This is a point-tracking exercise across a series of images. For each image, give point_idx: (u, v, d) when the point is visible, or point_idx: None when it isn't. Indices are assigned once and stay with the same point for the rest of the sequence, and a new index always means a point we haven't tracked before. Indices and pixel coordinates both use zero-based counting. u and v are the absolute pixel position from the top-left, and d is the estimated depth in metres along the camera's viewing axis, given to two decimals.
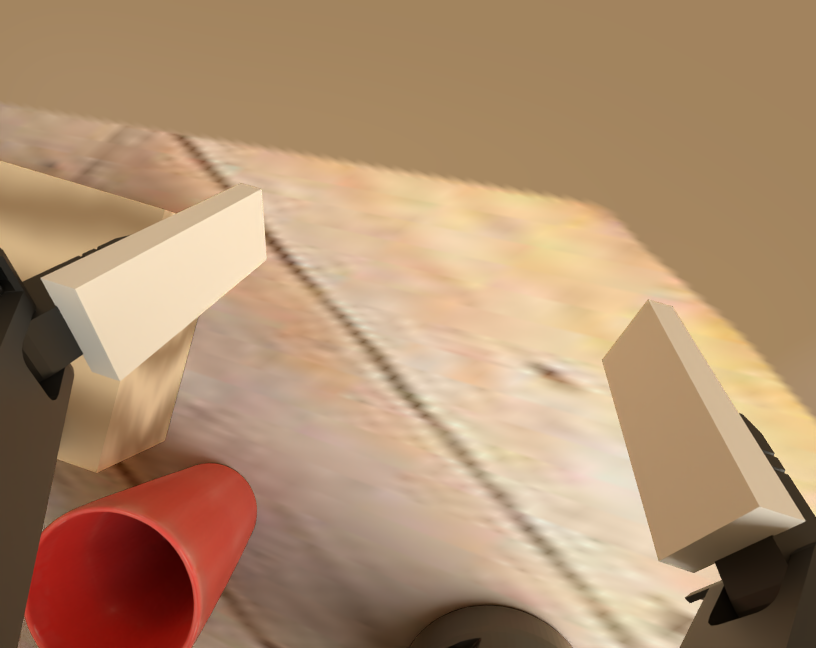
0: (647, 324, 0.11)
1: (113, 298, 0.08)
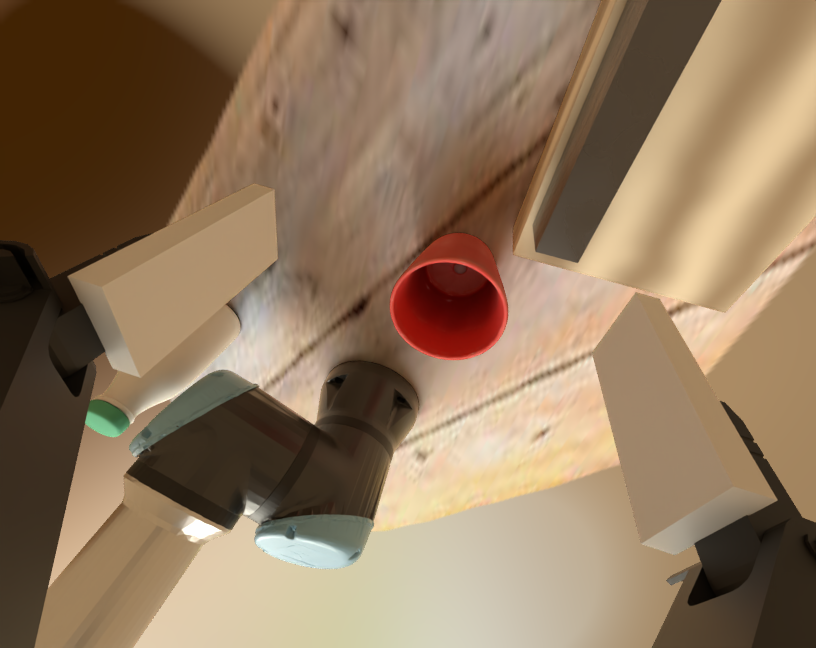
0: (634, 316, 0.11)
1: (136, 296, 0.08)
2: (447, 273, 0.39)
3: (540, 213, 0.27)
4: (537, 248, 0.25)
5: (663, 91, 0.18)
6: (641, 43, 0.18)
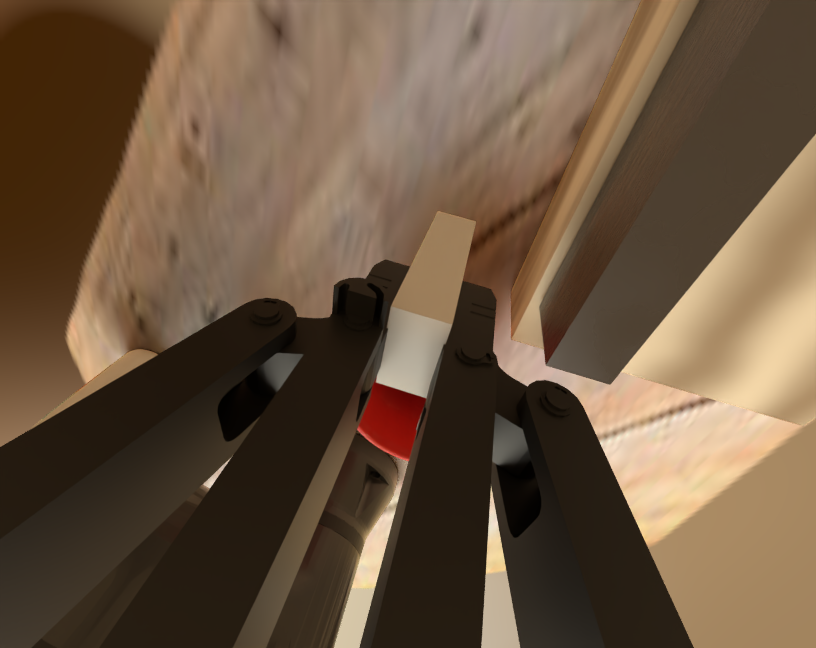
0: None
1: None
2: None
3: (551, 297, 0.19)
4: (549, 361, 0.16)
5: (789, 145, 0.10)
6: (761, 59, 0.09)
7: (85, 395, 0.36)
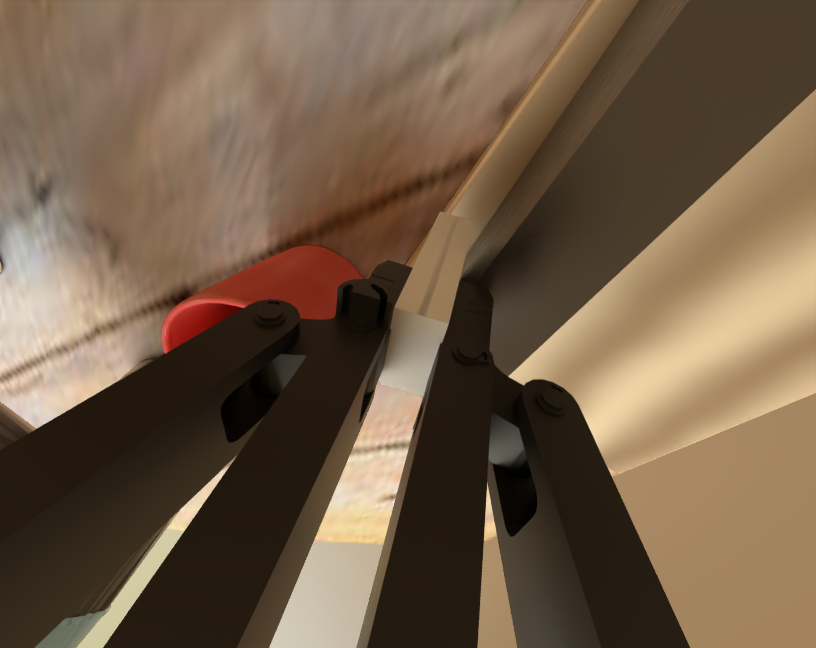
0: None
1: None
2: None
3: None
4: None
5: (695, 180, 0.08)
6: (688, 50, 0.07)
7: None
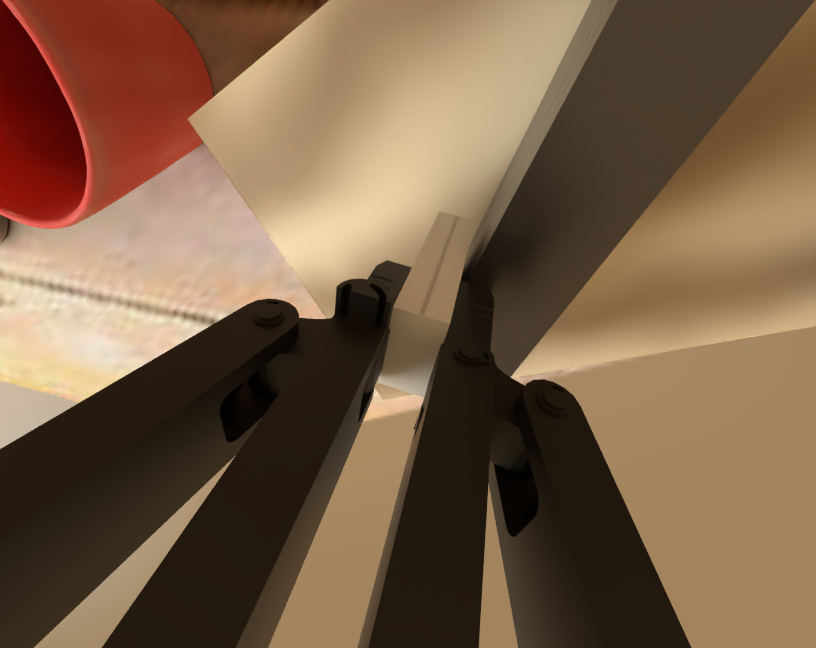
0: None
1: None
2: None
3: None
4: None
5: (677, 143, 0.08)
6: (645, 12, 0.07)
7: None
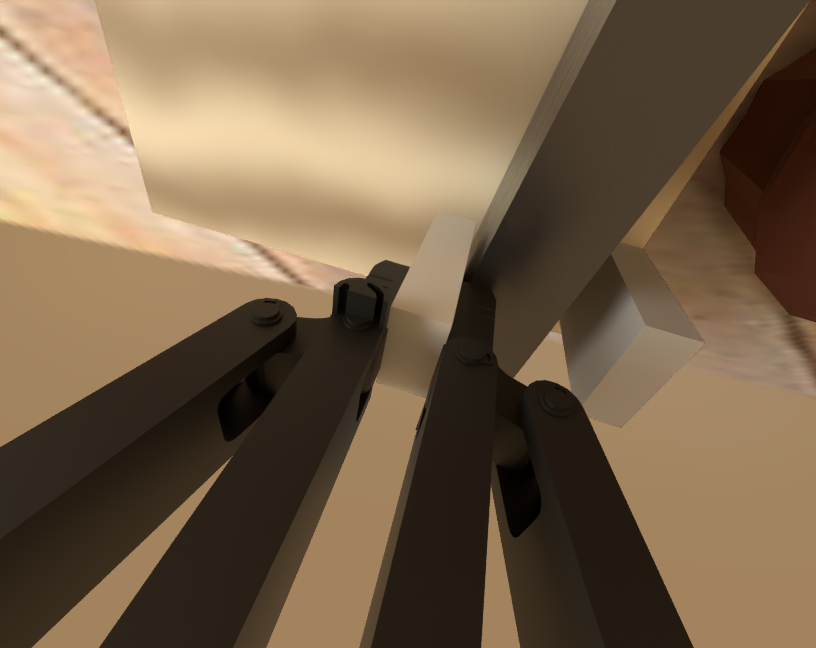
0: None
1: None
2: None
3: None
4: None
5: (691, 123, 0.08)
6: None
7: None
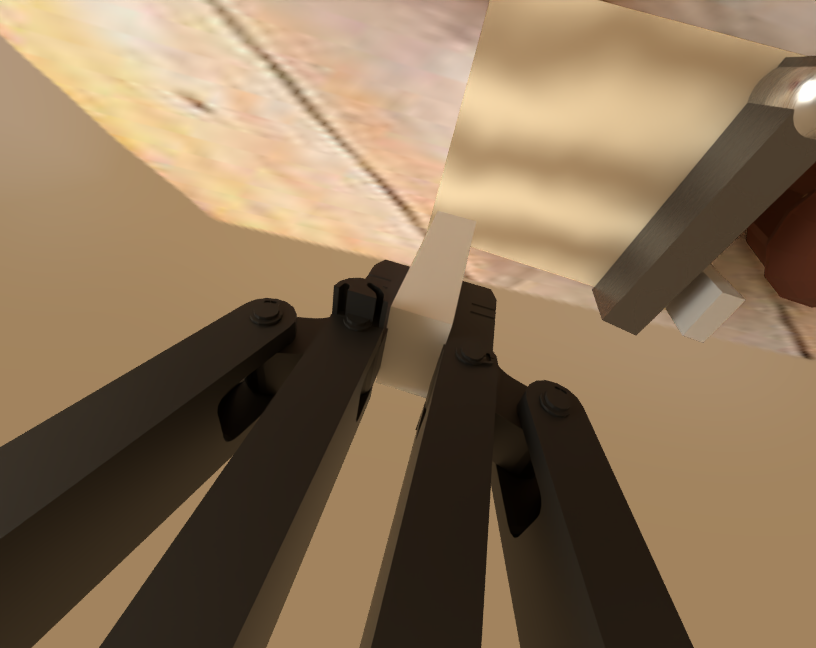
0: None
1: None
2: None
3: (605, 283, 0.31)
4: (604, 317, 0.28)
5: (746, 220, 0.22)
6: (740, 182, 0.21)
7: None
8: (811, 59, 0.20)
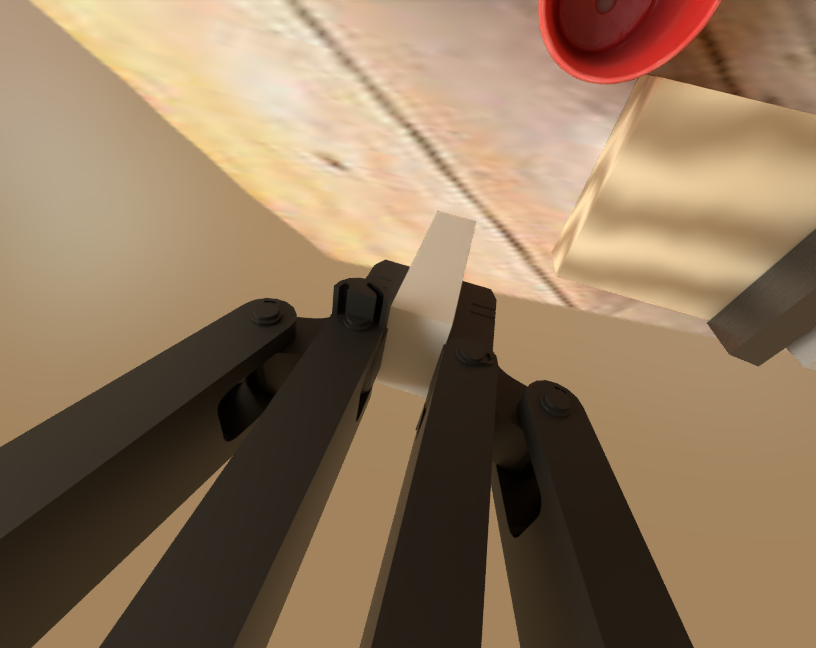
0: None
1: None
2: None
3: (723, 319, 0.35)
4: (731, 352, 0.33)
5: None
6: None
7: None
8: None
